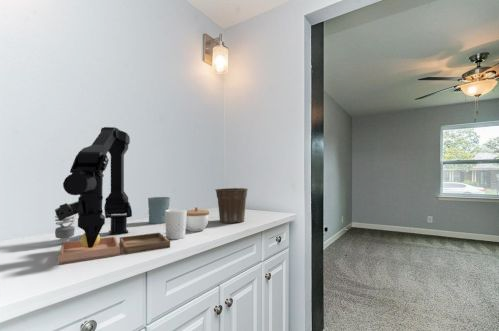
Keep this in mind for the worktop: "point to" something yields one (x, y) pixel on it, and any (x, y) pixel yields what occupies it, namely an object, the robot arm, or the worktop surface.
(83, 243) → the ball
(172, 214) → the white cup
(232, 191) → the plant pot
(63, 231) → the light bulb
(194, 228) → the lidded jar
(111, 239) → the dish
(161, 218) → the teal cup
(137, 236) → the tray
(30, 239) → the worktop surface
